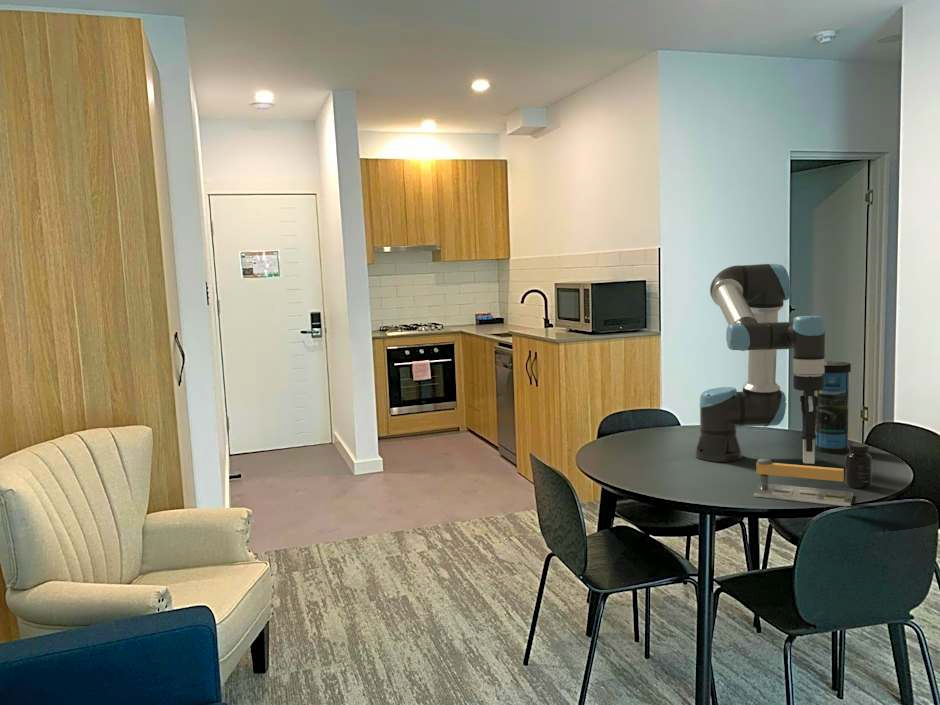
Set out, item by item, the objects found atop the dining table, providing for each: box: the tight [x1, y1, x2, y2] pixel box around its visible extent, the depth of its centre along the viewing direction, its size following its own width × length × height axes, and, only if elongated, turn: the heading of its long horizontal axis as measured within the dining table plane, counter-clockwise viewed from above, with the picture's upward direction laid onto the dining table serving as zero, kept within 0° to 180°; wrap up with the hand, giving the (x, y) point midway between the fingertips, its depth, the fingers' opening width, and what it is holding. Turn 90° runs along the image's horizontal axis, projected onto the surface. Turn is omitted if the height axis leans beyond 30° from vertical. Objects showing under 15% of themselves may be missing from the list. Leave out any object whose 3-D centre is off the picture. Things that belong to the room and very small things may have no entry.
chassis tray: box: [753, 474, 854, 507], centre depth 204 cm, size 24×11×5 cm, turn 60°
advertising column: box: [815, 361, 852, 454], centre depth 252 cm, size 11×11×30 cm
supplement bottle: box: [844, 442, 873, 490], centre depth 211 cm, size 7×7×12 cm
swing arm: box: [755, 458, 845, 483], centre depth 204 cm, size 22×4×4 cm, turn 60°
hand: (808, 462), depth 195 cm, fingers closed
